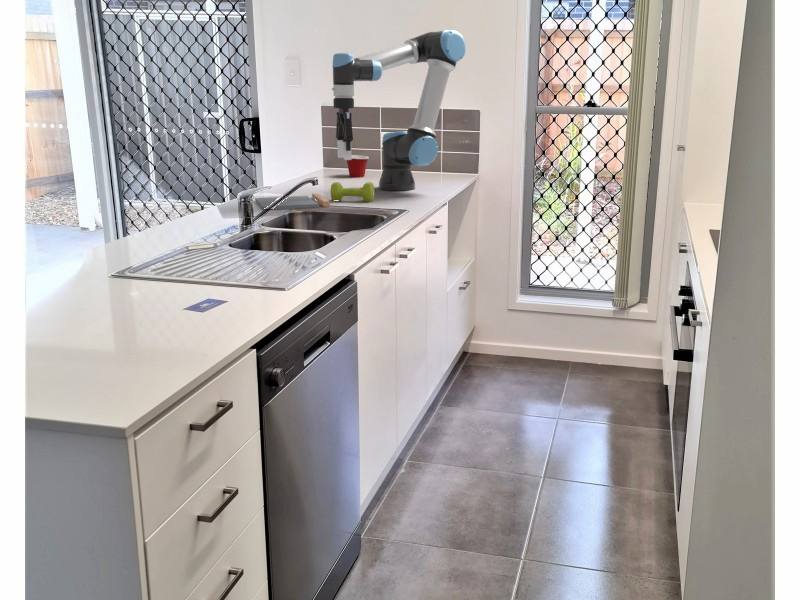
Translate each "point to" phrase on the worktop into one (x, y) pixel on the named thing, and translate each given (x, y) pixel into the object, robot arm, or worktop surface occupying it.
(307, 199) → the board
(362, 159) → the plastic cup
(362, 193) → the dumbbell
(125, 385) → the worktop surface
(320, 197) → the strip
